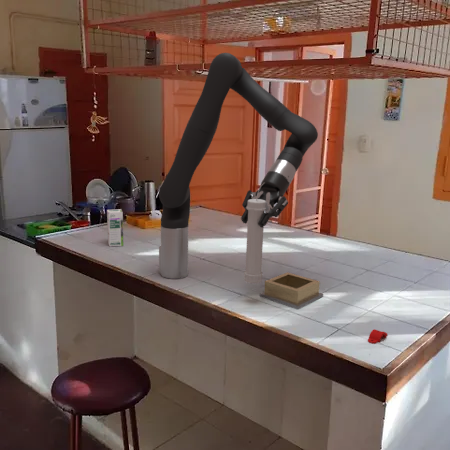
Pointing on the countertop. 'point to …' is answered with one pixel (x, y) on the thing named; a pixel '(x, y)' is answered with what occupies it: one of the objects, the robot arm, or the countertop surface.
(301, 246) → the countertop surface
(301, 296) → the socket
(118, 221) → the syrup box
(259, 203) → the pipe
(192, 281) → the countertop surface
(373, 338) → the pipe clamp
